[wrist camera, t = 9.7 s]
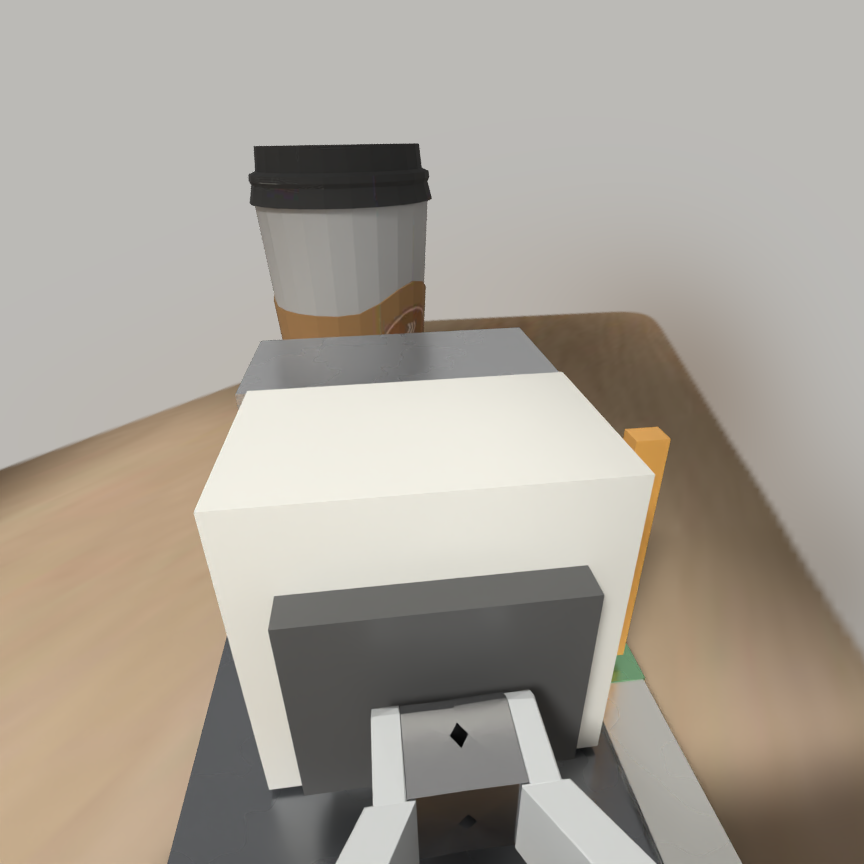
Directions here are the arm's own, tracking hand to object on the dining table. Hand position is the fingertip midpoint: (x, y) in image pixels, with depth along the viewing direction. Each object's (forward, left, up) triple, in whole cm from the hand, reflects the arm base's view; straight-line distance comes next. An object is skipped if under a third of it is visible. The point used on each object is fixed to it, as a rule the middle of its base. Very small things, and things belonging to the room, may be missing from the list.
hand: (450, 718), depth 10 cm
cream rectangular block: (-2, +3, -4) cm, 5 cm away
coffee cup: (-18, +12, -6) cm, 22 cm away
